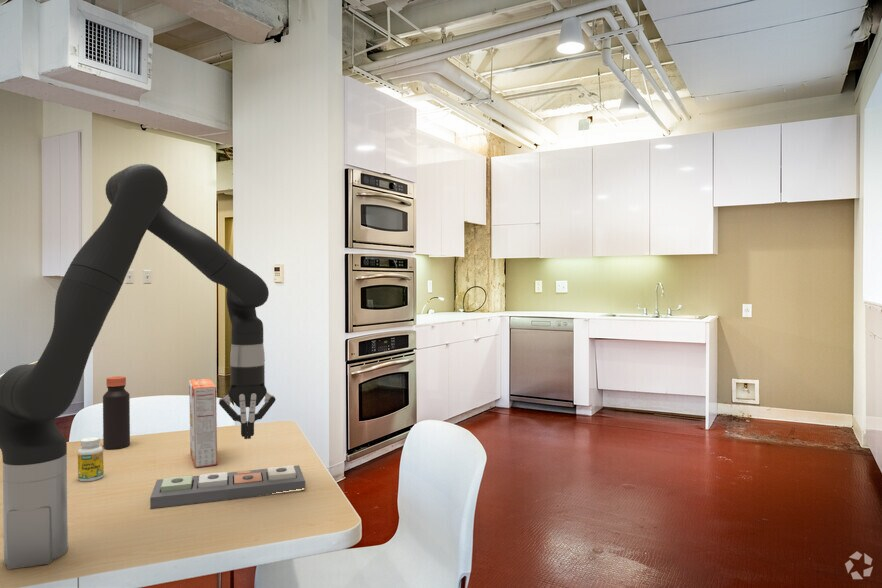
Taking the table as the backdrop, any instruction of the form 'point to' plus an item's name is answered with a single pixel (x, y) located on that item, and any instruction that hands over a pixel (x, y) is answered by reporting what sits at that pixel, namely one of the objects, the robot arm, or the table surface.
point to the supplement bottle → (90, 460)
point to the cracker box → (203, 422)
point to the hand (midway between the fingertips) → (247, 438)
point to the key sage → (177, 483)
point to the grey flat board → (225, 489)
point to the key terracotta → (247, 478)
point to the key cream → (281, 473)
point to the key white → (212, 480)
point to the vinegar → (116, 414)
